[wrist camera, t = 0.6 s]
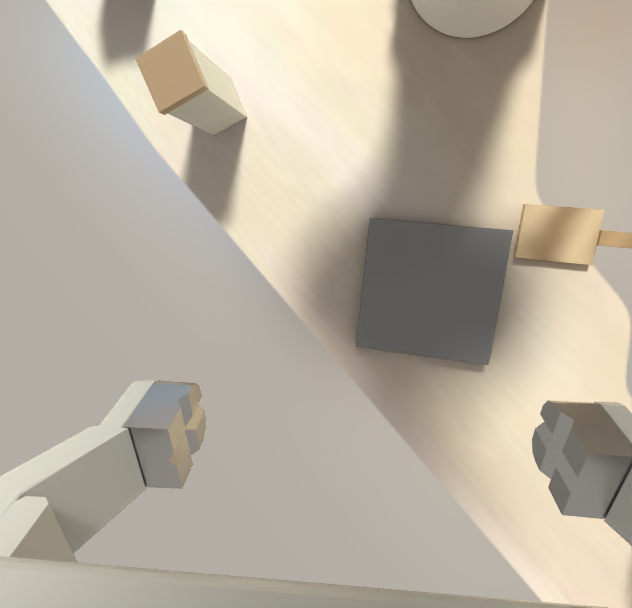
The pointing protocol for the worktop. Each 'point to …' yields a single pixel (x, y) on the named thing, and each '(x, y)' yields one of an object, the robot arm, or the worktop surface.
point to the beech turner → (564, 234)
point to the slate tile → (432, 289)
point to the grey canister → (190, 85)
